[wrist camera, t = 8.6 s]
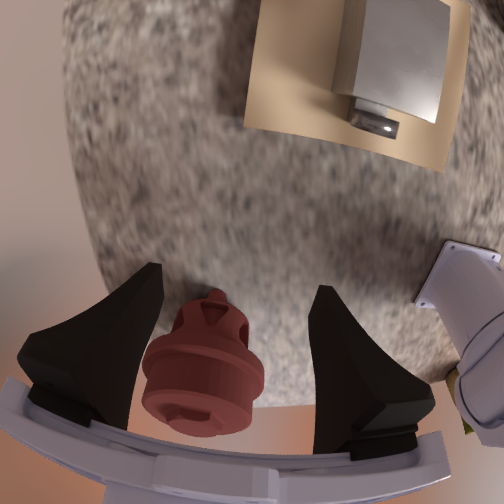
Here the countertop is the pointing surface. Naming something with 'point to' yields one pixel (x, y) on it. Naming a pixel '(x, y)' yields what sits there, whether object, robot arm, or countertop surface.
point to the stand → (321, 77)
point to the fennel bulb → (451, 385)
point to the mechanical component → (203, 370)
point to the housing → (391, 61)
